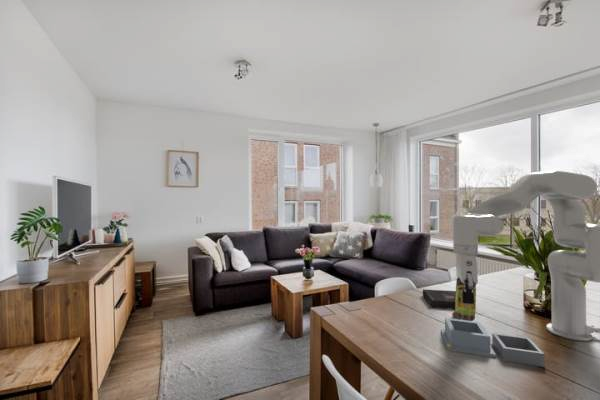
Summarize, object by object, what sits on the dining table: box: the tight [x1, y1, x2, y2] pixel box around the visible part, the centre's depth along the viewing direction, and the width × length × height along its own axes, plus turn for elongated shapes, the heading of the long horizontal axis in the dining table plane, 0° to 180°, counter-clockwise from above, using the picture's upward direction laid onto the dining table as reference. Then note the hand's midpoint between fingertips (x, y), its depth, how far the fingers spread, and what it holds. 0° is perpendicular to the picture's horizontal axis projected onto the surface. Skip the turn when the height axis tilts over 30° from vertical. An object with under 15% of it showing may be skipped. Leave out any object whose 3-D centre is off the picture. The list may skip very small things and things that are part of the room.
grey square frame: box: [491, 332, 546, 368], centre depth 91 cm, size 11×11×4 cm
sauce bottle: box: [454, 262, 477, 321], centre depth 98 cm, size 6×6×20 cm
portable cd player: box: [422, 288, 456, 310], centre depth 138 cm, size 16×17×4 cm
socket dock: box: [440, 317, 497, 358], centre depth 98 cm, size 14×14×6 cm
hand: (465, 299), depth 98 cm, fingers closed on sauce bottle, 6 cm apart
